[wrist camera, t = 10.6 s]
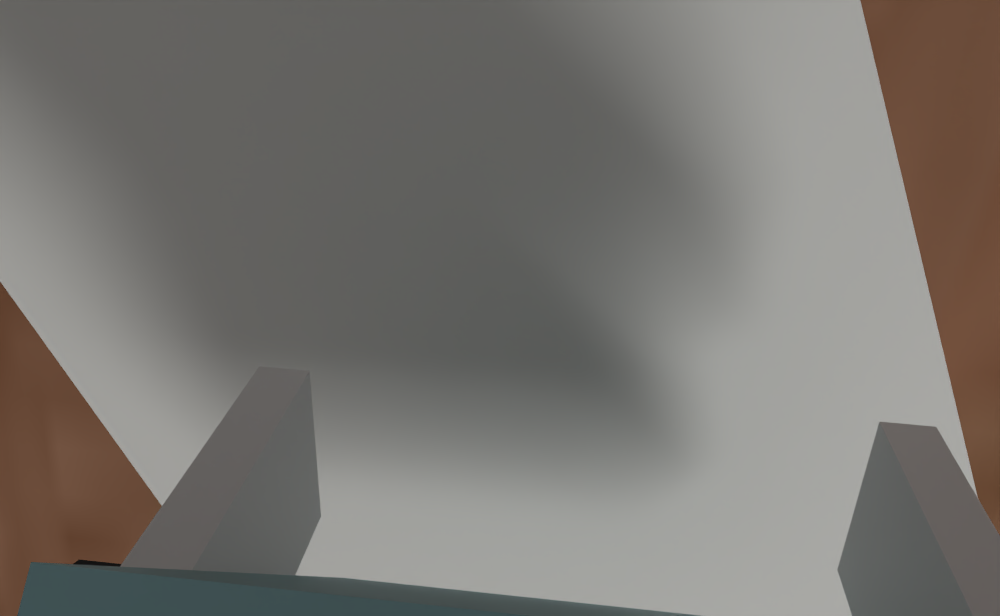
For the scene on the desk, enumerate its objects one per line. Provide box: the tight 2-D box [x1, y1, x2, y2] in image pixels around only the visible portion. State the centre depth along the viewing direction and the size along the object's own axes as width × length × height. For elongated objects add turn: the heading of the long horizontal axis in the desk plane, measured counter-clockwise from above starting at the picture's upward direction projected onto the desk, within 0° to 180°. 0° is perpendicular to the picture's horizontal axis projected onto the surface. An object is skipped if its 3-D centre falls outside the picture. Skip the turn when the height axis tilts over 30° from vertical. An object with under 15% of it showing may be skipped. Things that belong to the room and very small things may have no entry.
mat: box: [0, 0, 978, 616], centre depth 16 cm, size 22×16×1 cm
